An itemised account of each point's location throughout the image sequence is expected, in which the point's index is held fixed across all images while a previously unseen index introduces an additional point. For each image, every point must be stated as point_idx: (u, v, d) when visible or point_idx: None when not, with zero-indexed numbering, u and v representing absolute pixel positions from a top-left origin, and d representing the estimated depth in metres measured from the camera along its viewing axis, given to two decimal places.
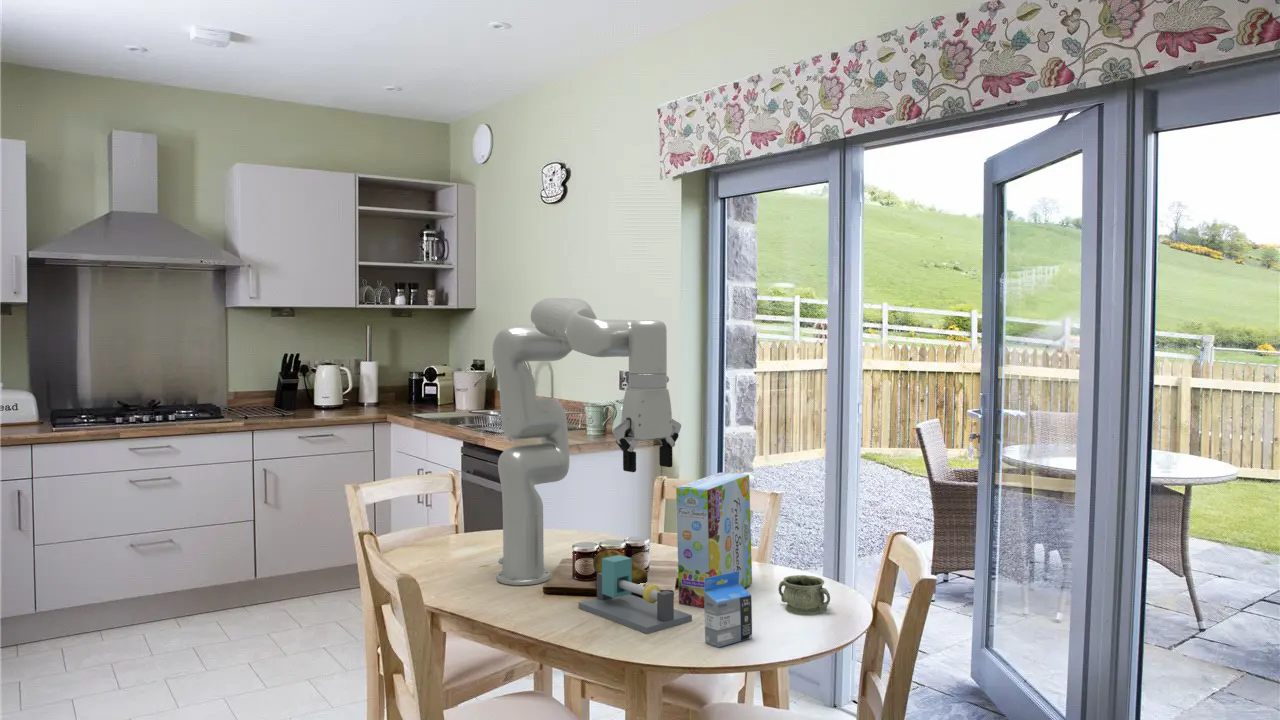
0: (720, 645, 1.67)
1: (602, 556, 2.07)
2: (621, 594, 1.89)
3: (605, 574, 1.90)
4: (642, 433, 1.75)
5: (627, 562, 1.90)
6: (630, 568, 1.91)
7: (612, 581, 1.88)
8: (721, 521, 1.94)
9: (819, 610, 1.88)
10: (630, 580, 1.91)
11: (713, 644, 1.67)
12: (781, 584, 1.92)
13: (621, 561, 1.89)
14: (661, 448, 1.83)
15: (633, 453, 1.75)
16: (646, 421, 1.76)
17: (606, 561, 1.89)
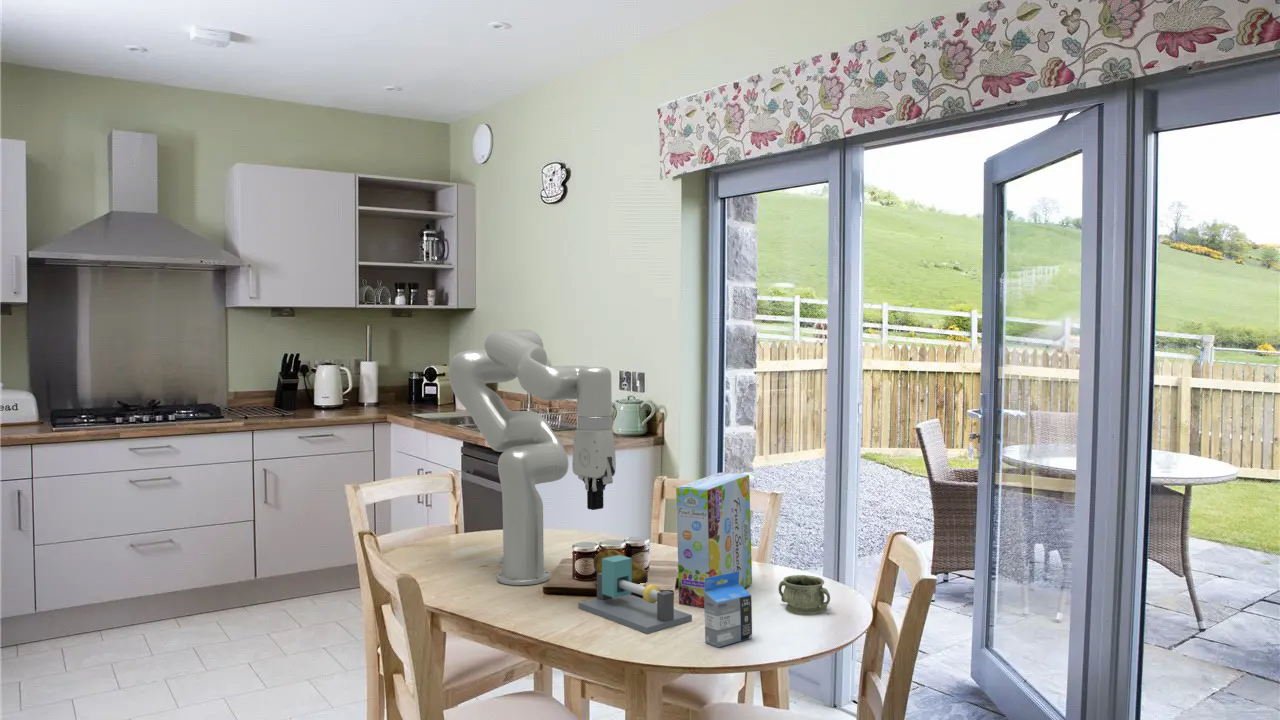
0: (720, 645, 1.67)
1: (602, 556, 2.07)
2: (621, 594, 1.89)
3: (605, 574, 1.90)
4: None
5: (627, 562, 1.90)
6: (630, 568, 1.91)
7: (612, 581, 1.88)
8: (721, 521, 1.94)
9: (819, 610, 1.88)
10: (630, 580, 1.91)
11: (713, 644, 1.67)
12: (781, 584, 1.92)
13: (621, 561, 1.89)
14: None
15: (602, 491, 1.96)
16: None
17: (606, 561, 1.89)
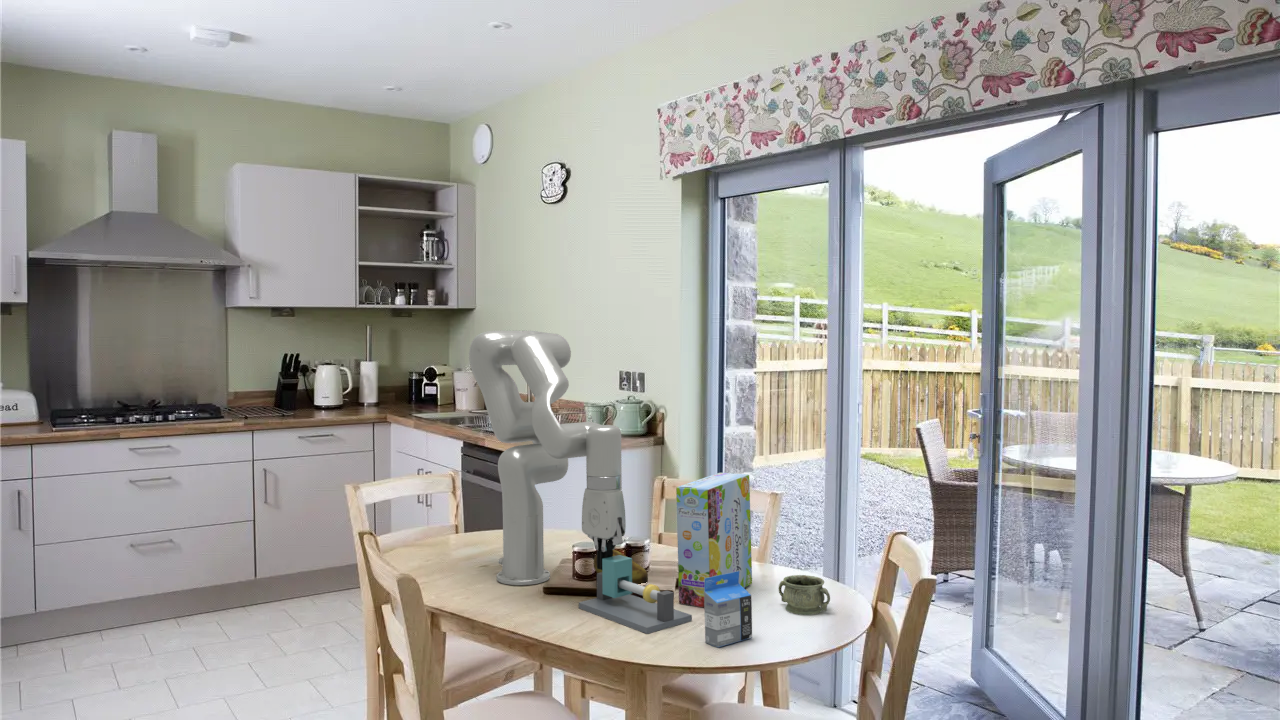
0: (720, 645, 1.67)
1: None
2: (621, 594, 1.89)
3: (605, 574, 1.90)
4: None
5: (627, 562, 1.90)
6: (631, 568, 1.91)
7: (612, 581, 1.88)
8: (721, 521, 1.94)
9: (819, 610, 1.88)
10: (630, 580, 1.91)
11: (713, 644, 1.67)
12: (781, 584, 1.92)
13: (621, 561, 1.89)
14: None
15: (612, 551, 1.94)
16: None
17: (606, 561, 1.89)
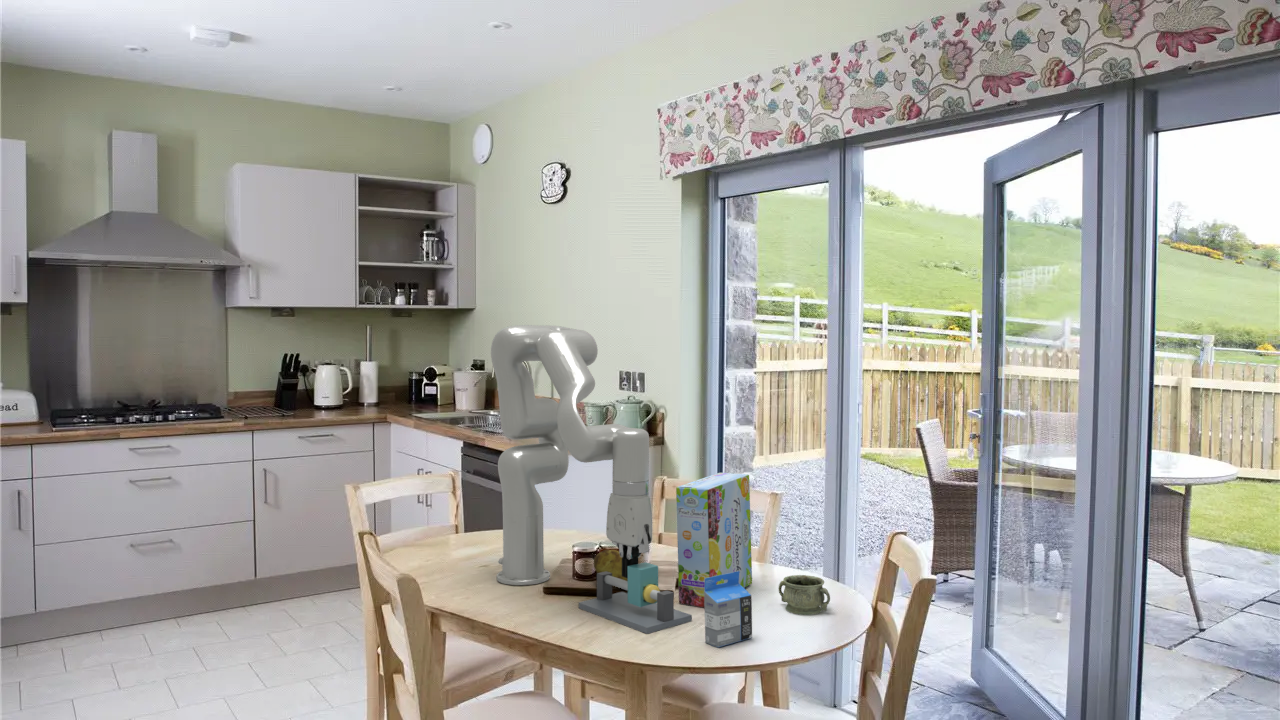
0: (720, 645, 1.67)
1: (602, 556, 2.07)
2: (648, 603, 1.83)
3: (631, 582, 1.83)
4: None
5: (653, 570, 1.84)
6: (657, 576, 1.84)
7: (638, 590, 1.82)
8: (721, 521, 1.94)
9: (819, 610, 1.88)
10: None
11: (713, 644, 1.67)
12: (781, 584, 1.92)
13: (648, 569, 1.83)
14: None
15: (637, 558, 1.88)
16: None
17: (632, 569, 1.83)
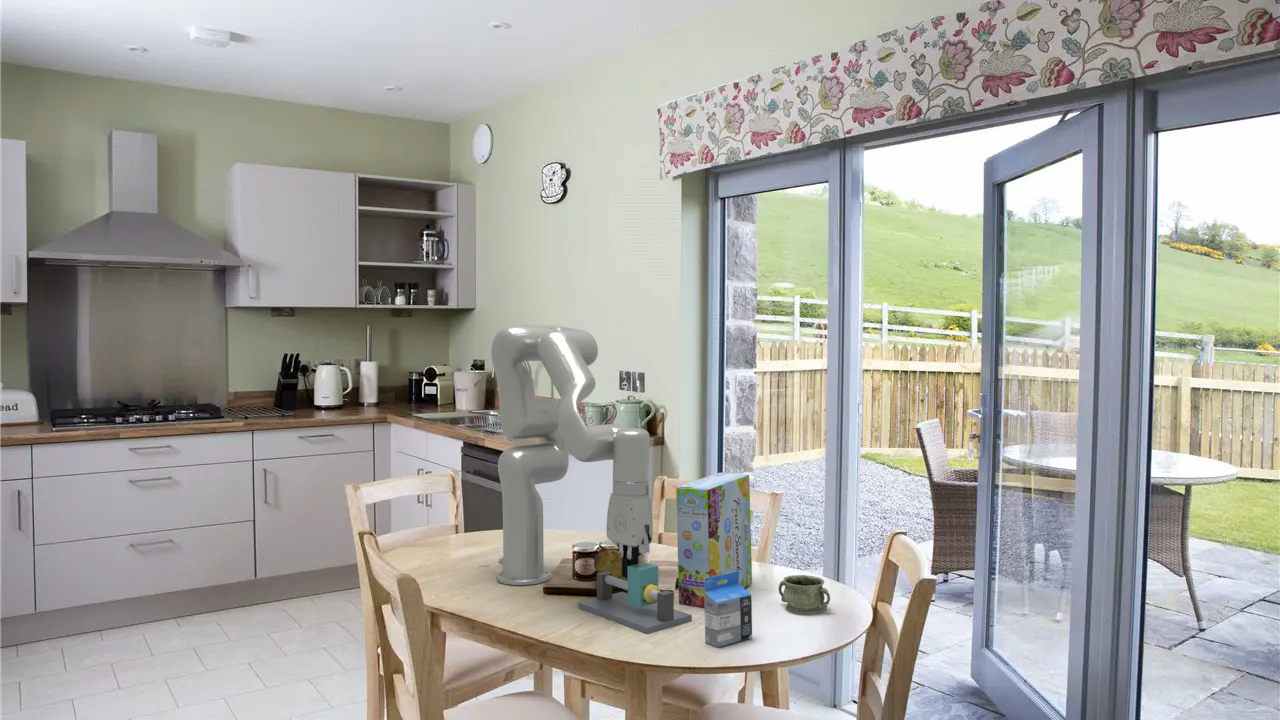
0: (720, 645, 1.67)
1: (602, 556, 2.07)
2: (648, 603, 1.83)
3: (631, 582, 1.83)
4: None
5: (653, 570, 1.84)
6: (657, 576, 1.84)
7: (638, 590, 1.82)
8: (721, 521, 1.94)
9: (819, 610, 1.88)
10: None
11: (713, 644, 1.67)
12: (781, 584, 1.92)
13: (648, 569, 1.83)
14: None
15: None
16: None
17: (632, 569, 1.83)
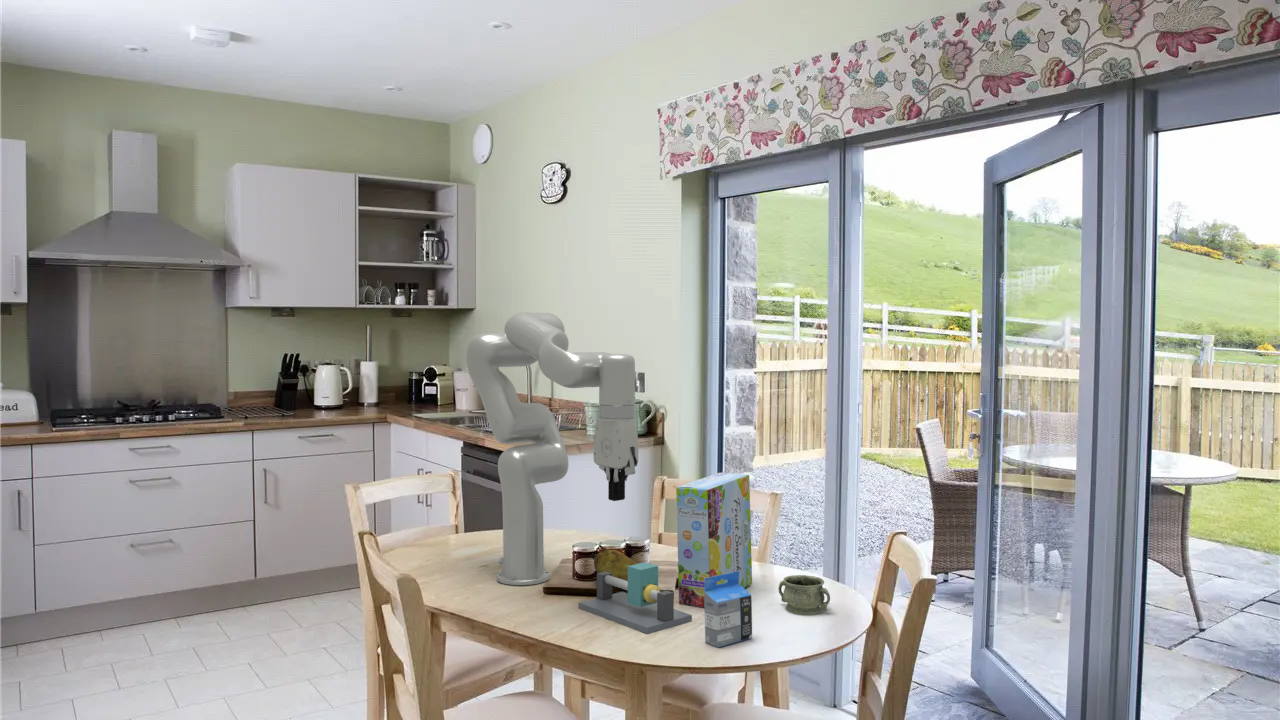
0: (720, 645, 1.67)
1: (602, 556, 2.07)
2: (647, 603, 1.83)
3: (631, 582, 1.83)
4: None
5: (653, 570, 1.84)
6: (657, 576, 1.84)
7: (638, 590, 1.82)
8: (721, 521, 1.94)
9: (819, 610, 1.88)
10: None
11: (713, 644, 1.67)
12: (781, 584, 1.92)
13: (648, 569, 1.83)
14: None
15: (624, 482, 1.91)
16: None
17: (632, 569, 1.83)
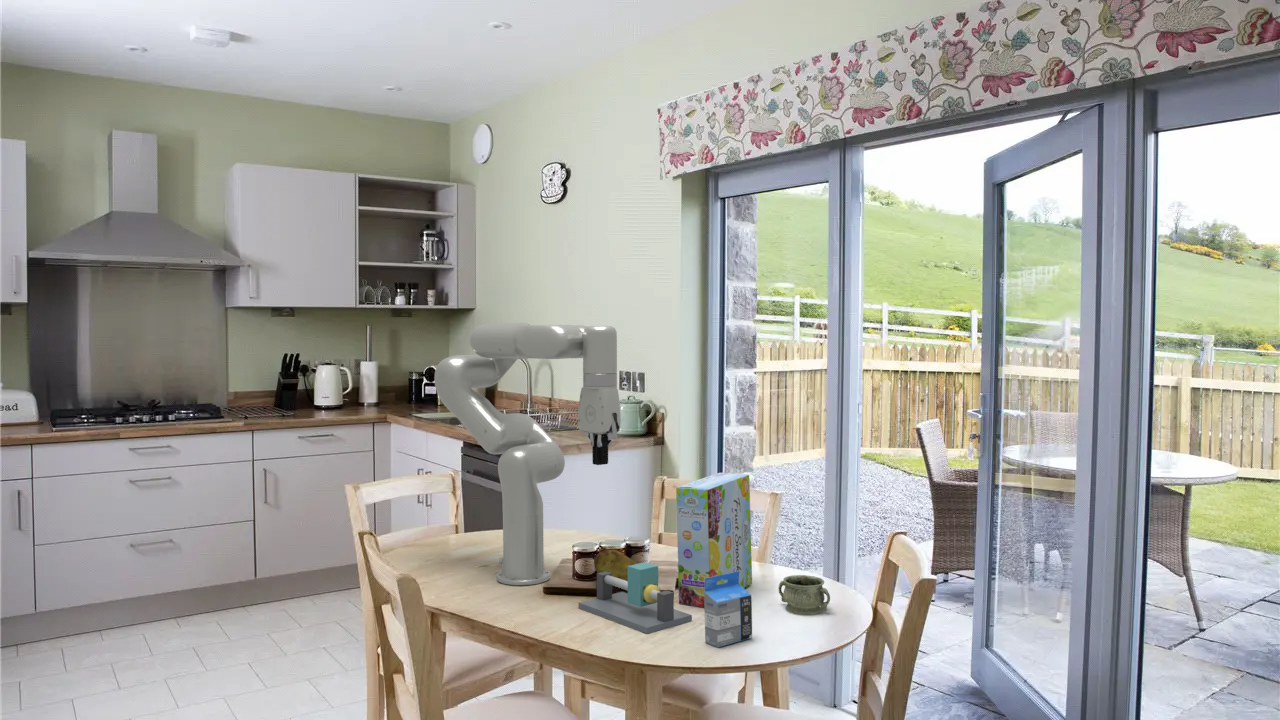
0: (720, 645, 1.67)
1: (602, 556, 2.07)
2: (647, 603, 1.83)
3: (631, 582, 1.83)
4: None
5: (653, 570, 1.84)
6: (657, 576, 1.84)
7: (638, 590, 1.82)
8: (721, 521, 1.94)
9: (819, 610, 1.88)
10: None
11: (713, 644, 1.67)
12: (781, 584, 1.92)
13: (648, 569, 1.83)
14: None
15: (607, 447, 2.01)
16: None
17: (632, 569, 1.83)
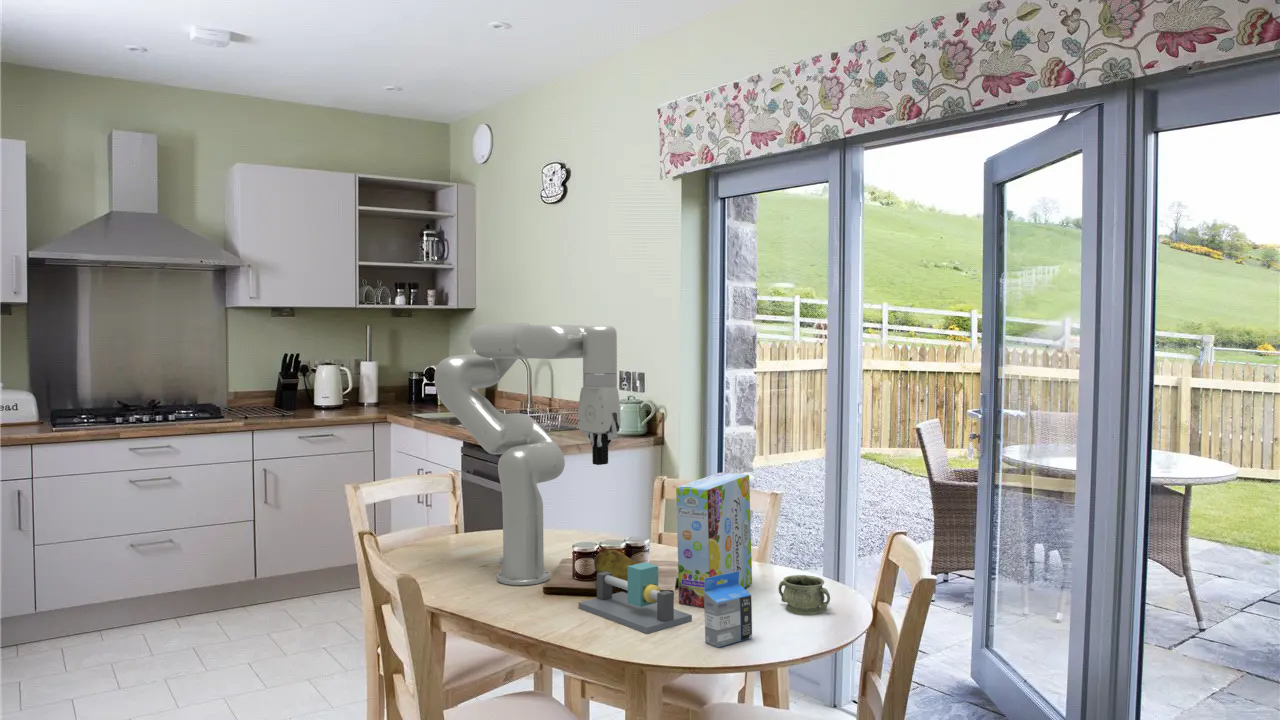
0: (720, 645, 1.67)
1: (602, 556, 2.07)
2: (647, 603, 1.83)
3: (631, 582, 1.83)
4: None
5: (653, 570, 1.84)
6: (657, 576, 1.84)
7: (638, 590, 1.82)
8: (721, 521, 1.94)
9: (819, 610, 1.88)
10: None
11: (713, 644, 1.67)
12: (781, 584, 1.92)
13: (648, 569, 1.83)
14: None
15: (607, 447, 2.01)
16: None
17: (632, 569, 1.83)
